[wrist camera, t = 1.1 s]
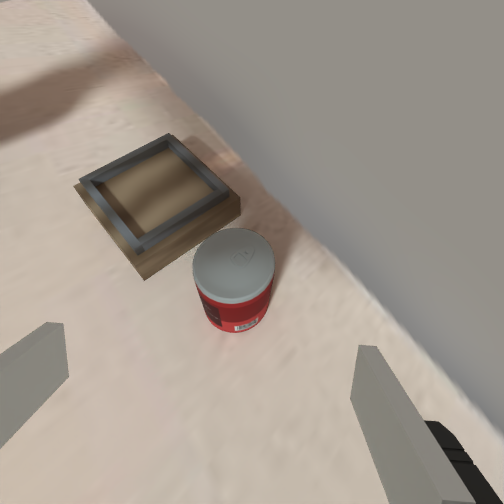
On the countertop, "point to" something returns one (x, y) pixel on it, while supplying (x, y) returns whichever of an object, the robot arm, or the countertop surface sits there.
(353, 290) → the countertop surface
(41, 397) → the robot arm
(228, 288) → the canned food
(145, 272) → the square wooden tray
